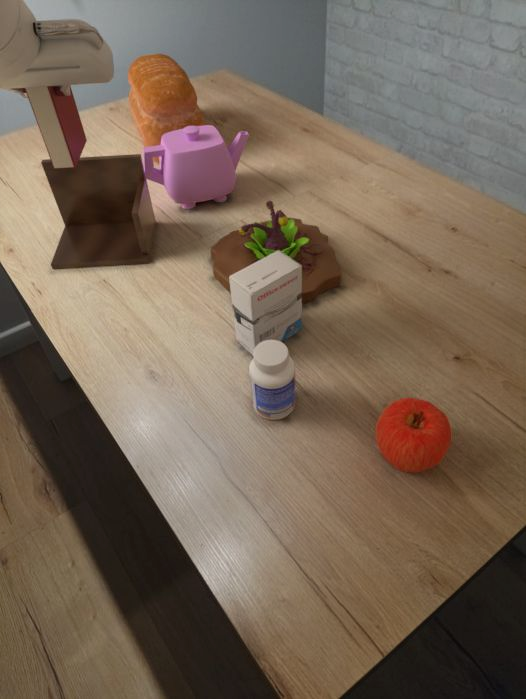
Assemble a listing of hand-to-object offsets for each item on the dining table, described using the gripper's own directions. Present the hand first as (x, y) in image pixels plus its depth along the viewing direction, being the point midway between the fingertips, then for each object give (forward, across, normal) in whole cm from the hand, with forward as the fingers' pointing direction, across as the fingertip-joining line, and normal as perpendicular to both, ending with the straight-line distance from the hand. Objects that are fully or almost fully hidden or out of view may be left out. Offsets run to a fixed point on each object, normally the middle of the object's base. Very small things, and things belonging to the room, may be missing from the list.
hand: (47, 91), depth 66 cm
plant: (+17, -28, +22) cm, 40 cm away
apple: (-8, -42, +47) cm, 63 cm away
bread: (+51, -7, -12) cm, 53 cm away
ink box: (+6, -26, +33) cm, 43 cm away
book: (+7, 0, +6) cm, 9 cm away
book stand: (+23, 0, +16) cm, 28 cm away
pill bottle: (-2, -26, +41) cm, 49 cm away
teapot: (+34, -15, +5) cm, 37 cm away
